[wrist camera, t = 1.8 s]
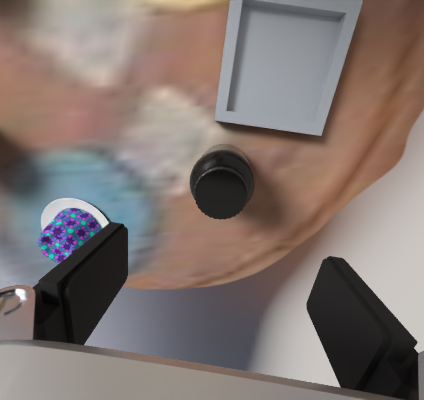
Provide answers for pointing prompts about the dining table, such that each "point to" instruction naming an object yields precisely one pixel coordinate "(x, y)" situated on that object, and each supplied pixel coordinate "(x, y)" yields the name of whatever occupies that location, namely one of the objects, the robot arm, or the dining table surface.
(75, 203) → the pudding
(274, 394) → the robot arm
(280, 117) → the tray
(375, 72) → the dining table surface
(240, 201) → the supplement bottle
